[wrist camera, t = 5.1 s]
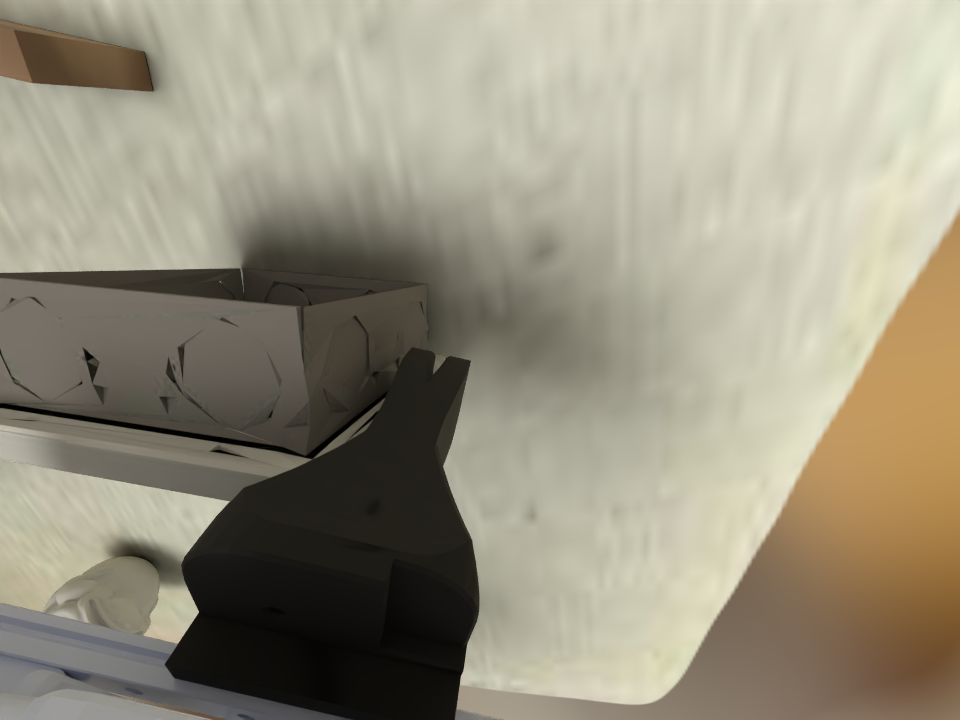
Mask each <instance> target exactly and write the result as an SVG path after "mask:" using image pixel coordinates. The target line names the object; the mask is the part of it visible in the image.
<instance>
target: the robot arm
mask: <svg viewBox="0 0 960 720" xmlns="http://www.w3.org/2000/svg"><path fill="white" fill-rule="evenodd" d="M435 358H436V356H435V354H434V353H433V352H431V351H427V350H423V349H418V348H414V347H412V348H411V349H410V350H409V351H408V352H407V354H406V355H405V356H404V357H403V359H402V361H401V363H400V366H399V368H398V370H397V372H396V375H395V377H394V379H393V381H392V384H391V386H390V388H389V391H388V393H387V395H386V398H385V400H384V402H383V404H382V406H381V408H380V409H379V411H378V413H377V414H376V416H375V417H374V419H373V420H372V422H371V423H370V425H369V426H368V428H367V429H366V430H365V431H364V432H362V433H360V434H359V435H357V436H356V437H354V438H352V439H351V440H349V441H347V442H346V443H344V444H342V445H340V446H338V447H337V448H335V449H333V450H331V451H329V452H327V453H325V454H323V455H321V456H319V457H316V458H314V459H312V460H310V461H308V462H306V463H304V464H302V465H300V466H298V467H296V468H293V469H291V470H288V471H286V472H283V473H281V474H278V475H276V476H273V477H271V478H268V479H265V480H263V481H260V482H258V483H255V484H252V485H249V486H247V487H244V488H243V489H242V490H241V491H240V492H239V493H238V494H237V495H236V496H235V497H234V498H233V500H232V501H231V502H229V503H228V504H227V505H226V506H225V508H224V509H223V510H222V511H221V512H220V513H219V514H218V515H217V516H216V518H215V519H214V520H213V521H212V523H211V524H210V525H209V526H208V528H207V529H206V530H205V531H204V533H203V534H202V535H201V537H200V538H199V539H198V540H197V542H196V543H195V544H194V545H193V547H192V548H191V549H190V551H189V552H188V553H187V554H186V556H185V557H184V560H183V562H182V565H181V567H182V572H183V576H184V581H185V583H186V585H187V587H188V589H189V591H190V594H191V596H192V598H193V600H194V602H195V604H196V606H197V608H198V610H199V613H198V615H197V616H196V618H195V619H194V621H193V622H192V624H191V625H190V627H189V628H188V630H187V631H186V633H185V634H184V636H183V637H182V639H181V640H180V642H179V643H178V644H176V643H172V642H168V641H163V640H159V639H155V638H150V637H146V636H142V635H137V634H133V633H129V632H125V631H120V630H116V629H112V628H107V627H103V626H99V625H95V624H90V623H86V622H82V621H77V620H73V619H69V618H64V617H60V616H56V615H52V614H47V613H43V612H39V611H34V610H30V609H26V608H22V607H17V606H13V605H9V604H4V603H0V720H211V719H207V718H202V717H198V716H193V715H190V714H185V713H181V712H176V711H172V710H168V709H164V708H159V707H155V706H151V705H146V704H142V703H138V702H133V701H129V700H127V699H126V698H123V697H120V696H118V695H115V694H112V693H116V694H121V695H125V696H129V697H134V698H138V699H142V700H146V701H151V702H155V703H160V704H164V705H168V706H172V707H177V708H181V709H185V710H190V711H194V712H198V713H202V714H207V715H211V716H216V717H220V718H224V719H229V720H502V719H498V718H494V717H489V716H485V715H481V714H477V713H472V712H468V711H464V710H459V709H456V707H457V700H458V692H459V686H460V678H461V675H462V673H463V669H464V663H465V655H466V648H467V643H468V641H469V638H470V636H471V634H472V631H473V629H474V627H475V625H476V622H477V619H478V614H479V584H478V575H477V568H476V561H475V555H474V550H473V543H472V539H471V537H470V534H469V532H468V530H467V528H466V526H465V524H464V522H463V519H462V517H461V515H460V513H459V510H458V508H457V505H456V503H455V500H454V498H453V495H452V493H451V490H450V487H449V484H448V481H447V478H446V475H445V472H444V468H443V465H444V462H445V460H446V457H447V454H448V451H449V449H450V446H451V443H452V440H453V436H454V432H455V428H456V424H457V420H458V416H459V412H460V407H461V403H462V398H463V394H464V389H465V385H466V380H467V376H468V371H469V367H470V362H471V361H469V360H465V359H461V358H456V357H452V356H450V357H448V358H446V359H445V361H444V362H443V364H442V365H441V366H440V367H439V368H438V370H437V371H436V372H435V373H434V374H433V371H434V364H435ZM107 691H108V692H107ZM110 692H112V693H110Z"/></svg>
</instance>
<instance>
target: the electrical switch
mask: <svg viewBox="0 0 960 720" xmlns="http://www.w3.org/2000/svg"><path fill="white" fill-rule="evenodd" d="M219 281H221V283H222V284H221V283H220V282H219ZM243 282H244V292H243V285H242V278H241V271H240V268H235V269H184V270H134V271H83V272H33V273H0V460H6V461H11V462H17V463H22V464H28V465H33V466H39V467H44V468H50V469H55V470H61V471H66V472H72V473H77V474H83V475H88V476H94V477H99V478H105V479H110V480H116V481H121V482H127V483H132V484H138V485H143V486H149V487H154V488H160V489H165V490H171V491H176V492H182V493H187V494H193V495H198V496H204V497H209V498H215V499H220V500H226V501H232V500H233V498H234V497H235V496H236V495H237V494H238V493H239V492H240V491H241V490H242V489H243V488H244V487H247V486H249V485H252V484H255V483H258V482H260V481H263V480H265V479H268V478H271V477H273V476H276V475H278V474H281V473H283V472H286V471H288V470H291V469H293V468H296V467H298V466H300V465H302V464H304V463H306V462H308V461H310V460H312V459H314V458H316V457H319V456H321V455H323V454H325V453H327V452H329V451H331V450H333V449H335V448H337V447H338V446H340V445H342V444H344V443H346V442H347V441H349V440H351V439H352V438H354V437H356V436H357V435H359V434H360V433H362V432H364V431H365V430H366V429H367V428H368V426H369V425H370V423H371V422H372V420H373V419H374V417H375V416H376V414H377V413H378V411H379V409H380V408H381V406H382V404H383V402H384V400H385V398H386V395H387V393H388V391H389V388H390V386H391V384H392V381H393V379H394V377H395V375H396V372H397V370H398V368H399V366H400V363H401V361H402V359H403V357H404V356H405V355H406V354H407V352H408V351H409V350H410V349H411V348H412V347H414V348H418V349H423V350H427V351H428V335H429V329H428V323H427V317H426V313H427V289H428V284H421V283H409V282H397V281H385V280H373V279H362V278H350V277H338V276H326V275H314V274H302V273H290V272H279V271H267V270H255V269H243ZM279 283H281V284H279ZM278 284H279V285H278ZM296 287H297V288H301V289H302V290H303V291H304V292H302V291H301V290H299V289H297V288H296ZM370 290H372V291H376V292H369V291H370ZM308 299H309V300H308ZM309 301H310V303H311V304H312V306H309ZM353 317H354V318H355V319H354V318H353ZM435 356H436V358H435V364H434V371H433V374H434V373H435V372H436V371H437V370H438V368H439V367H440V366H441V365H442V364H443V362H444V361H445V357H444V356H443V355H437V354H435Z"/></svg>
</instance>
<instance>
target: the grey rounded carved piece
mask: <svg viewBox="0 0 960 720" xmlns="http://www.w3.org/2000/svg"><path fill="white" fill-rule="evenodd" d="M159 588H160V579H159V575H158V572H157V570H156V569H155V567H154V566H153V565H152V564H151V563H149V562H148V561H147V560H144V559H142V558H139V557H133V556H123V557H116V558H112V559H109V560H106V561H103V562H101V563H99V564H97V565H95V566H93V567H92V568H90V569H89V570H87V571H86V572H84V573H83V574H82V575H80V576H77V577H75V578H73V579H71V580H69V581H68V582H66V583H65V584H64V585H63V586H62V587H61V588H59V589H58V590H57V591H56V592H55V593H54V594H53V595H52V596H51V598H50V599H49V601H48V602H47V604H46V605H45V607H44V610H43V613H47V614H52V615H56V616H60V617H64V618H69V619H73V620H77V621H82V622H86V623H90V624H95V625H99V626H103V627H107V628H112V629H116V630H120V631H125V632H129V633H133V634H137V635H142V636H143V635H144V633H145V632H146V631H147V630H148V628H149V626H150V623H151V620H150V614H151V612H152V611H153V610H154V608H155V606H156V605H157V602H158V593H159Z"/></svg>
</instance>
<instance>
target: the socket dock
mask: <svg viewBox="0 0 960 720" xmlns="http://www.w3.org/2000/svg"><path fill="white" fill-rule="evenodd" d="M0 76H4V77H8V78H13V79H17V80H22V81H26V82H30V83H40V84H54V85H68V86H82V87H96V88H110V89H124V90H139V91H153V89H152V85H151V80H150V76H149V71H148V67H147V62H146V58H145V53H144V52H142V51H138V50H133V49H129V48H124V47H120V46H115V45H111V44H107V43H102V42H98V41H93V40H89V39H85V38H80V37H76V36H71V35H67V34H62V33H58V32H54V31H49V30H45V29H40V28H36V27H32V26H27V25H23V24H18V23H14V22H9V21H5V20H1V19H0Z"/></svg>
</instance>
